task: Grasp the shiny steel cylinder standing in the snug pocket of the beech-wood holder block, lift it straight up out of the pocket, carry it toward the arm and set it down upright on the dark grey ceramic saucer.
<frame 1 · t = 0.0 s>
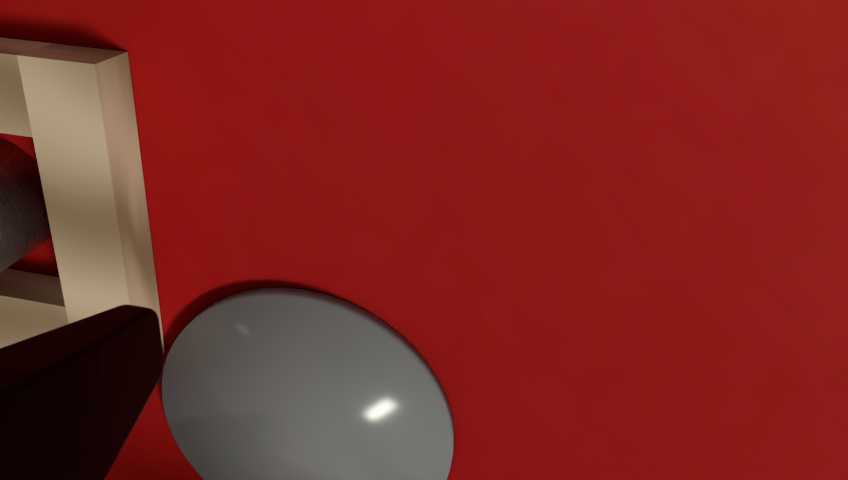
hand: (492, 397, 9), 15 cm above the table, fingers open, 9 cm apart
holder: (2, 194, 28), on the table
saucer: (307, 418, 30), on the table
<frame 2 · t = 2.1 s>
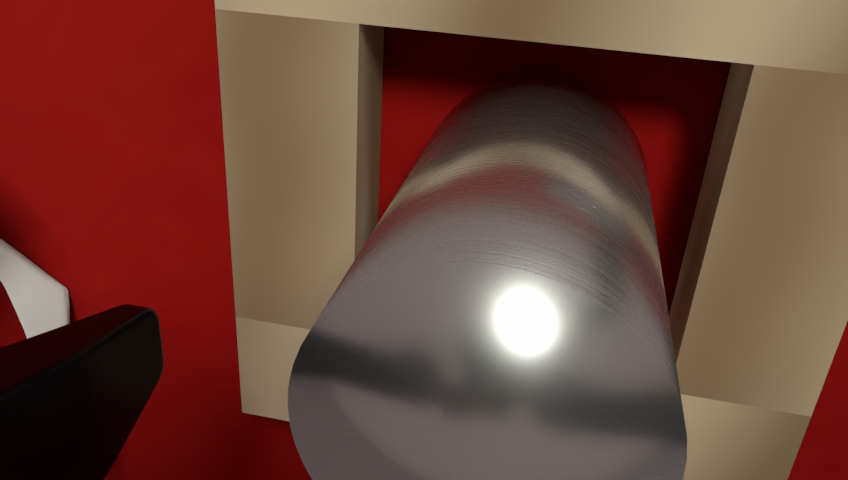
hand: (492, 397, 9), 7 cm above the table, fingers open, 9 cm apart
holder: (532, 185, 16), on the table
shiny steel cylinder: (512, 275, 12), in the holder
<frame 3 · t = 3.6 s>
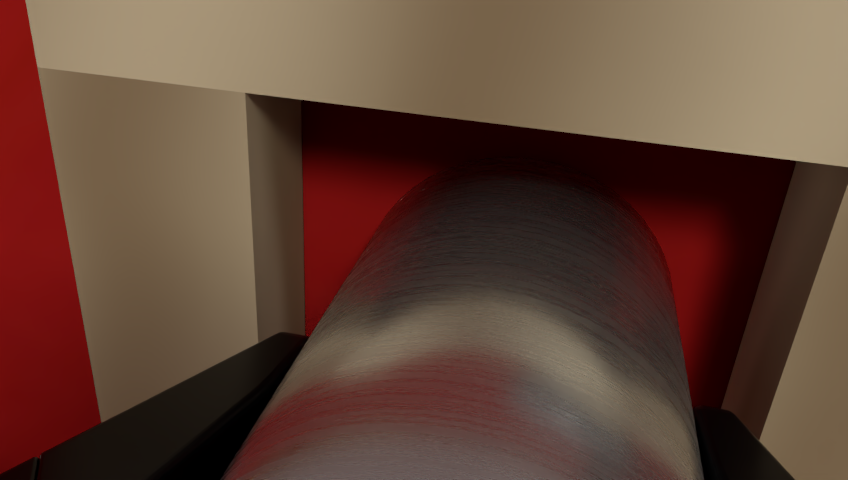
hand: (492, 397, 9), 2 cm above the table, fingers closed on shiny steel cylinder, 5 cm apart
holder: (512, 301, 11), on the table
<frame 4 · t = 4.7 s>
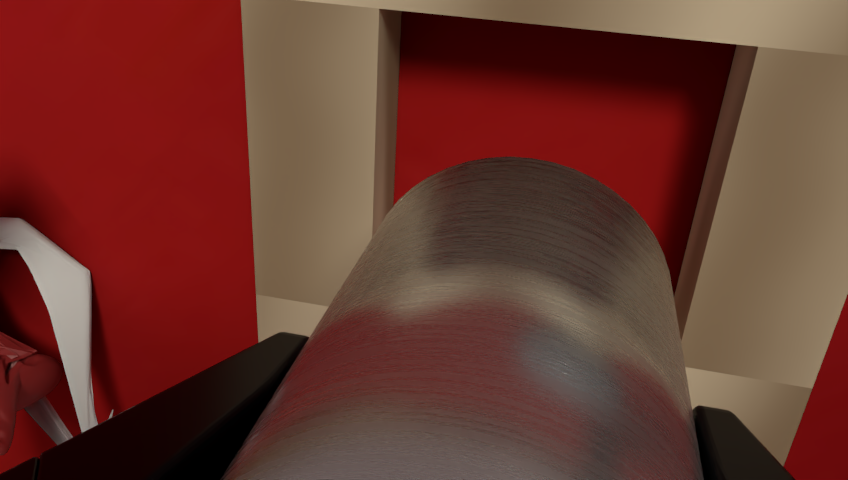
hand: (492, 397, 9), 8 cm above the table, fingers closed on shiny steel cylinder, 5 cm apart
holder: (543, 166, 16), on the table
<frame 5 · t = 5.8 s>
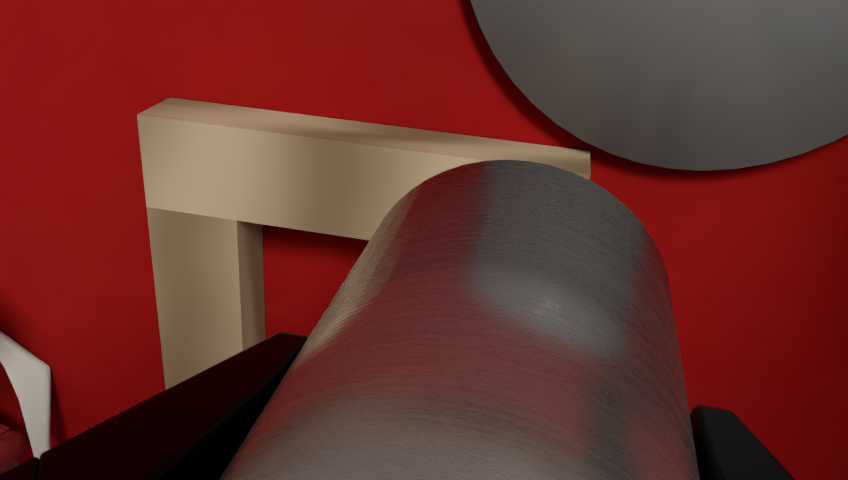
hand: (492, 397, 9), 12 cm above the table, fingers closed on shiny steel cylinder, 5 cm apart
holder: (364, 307, 23), on the table
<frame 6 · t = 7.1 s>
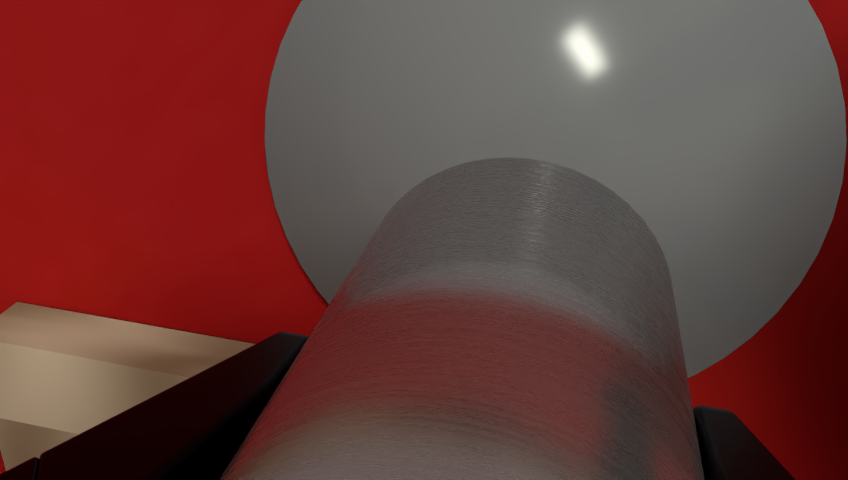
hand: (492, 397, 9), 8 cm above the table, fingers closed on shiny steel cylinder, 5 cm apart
saucer: (533, 169, 16), on the table
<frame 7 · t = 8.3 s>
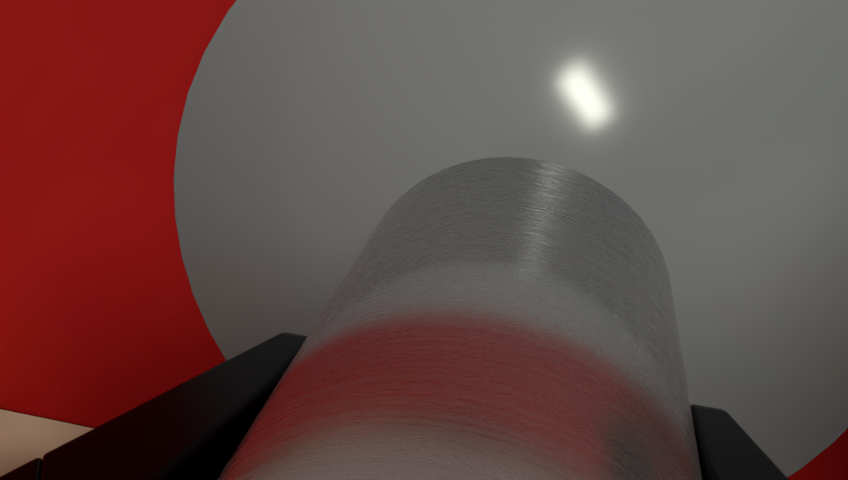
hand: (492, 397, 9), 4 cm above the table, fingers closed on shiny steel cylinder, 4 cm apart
saucer: (518, 253, 13), on the table
when the fingers open (4 cm above the table, at t = 8.6 s): shiny steel cylinder drops 1 cm, resting on saucer.
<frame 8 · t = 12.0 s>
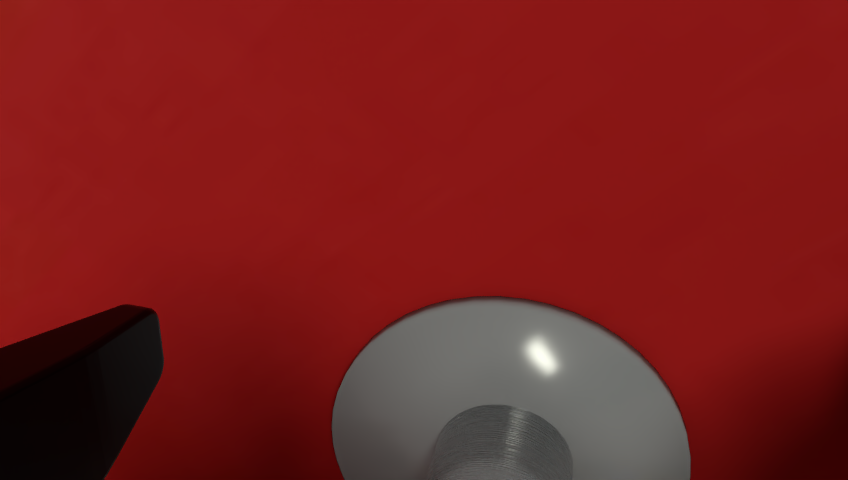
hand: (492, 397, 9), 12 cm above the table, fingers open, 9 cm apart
saucer: (504, 447, 26), on the table
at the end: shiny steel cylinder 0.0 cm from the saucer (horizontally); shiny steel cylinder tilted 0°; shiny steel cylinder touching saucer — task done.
